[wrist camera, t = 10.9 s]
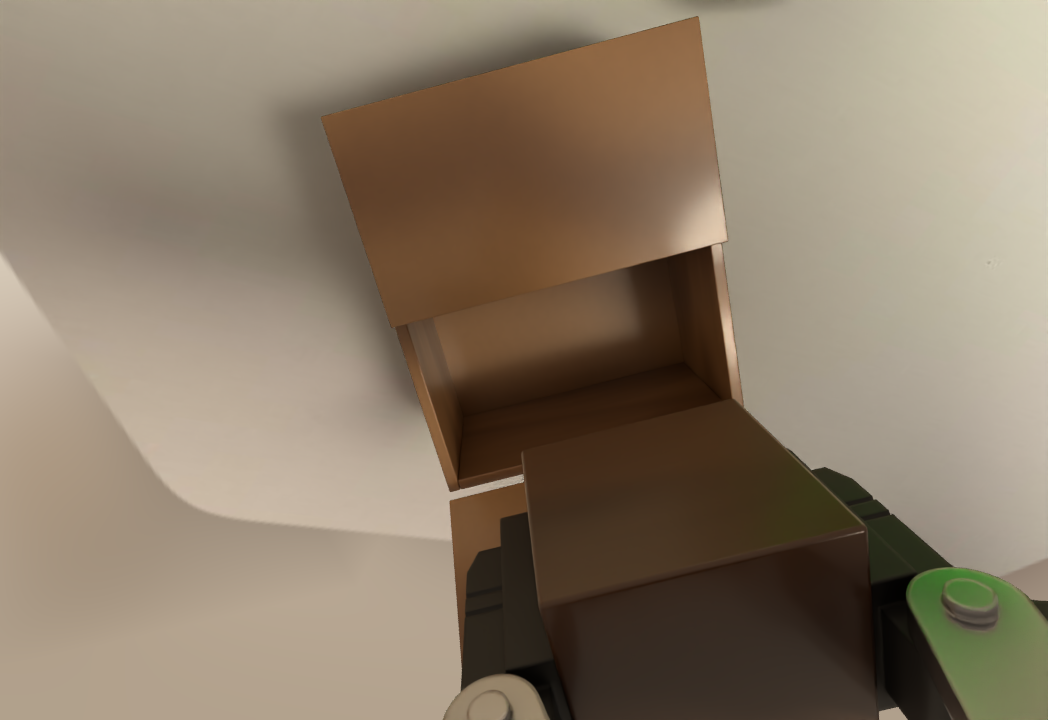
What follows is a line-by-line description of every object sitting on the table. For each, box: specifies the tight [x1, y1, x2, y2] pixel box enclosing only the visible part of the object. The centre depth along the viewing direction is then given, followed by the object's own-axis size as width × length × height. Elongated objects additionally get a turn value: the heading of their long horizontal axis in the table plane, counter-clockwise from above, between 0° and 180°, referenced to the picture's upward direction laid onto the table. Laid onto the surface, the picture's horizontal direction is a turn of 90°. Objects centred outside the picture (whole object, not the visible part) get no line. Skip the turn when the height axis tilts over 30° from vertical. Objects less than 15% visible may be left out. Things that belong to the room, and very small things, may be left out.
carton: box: [321, 16, 744, 492], centre depth 21 cm, size 13×11×7 cm
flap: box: [450, 482, 528, 663], centre depth 18 cm, size 6×11×1 cm
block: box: [521, 399, 879, 720], centre depth 9 cm, size 4×4×4 cm
